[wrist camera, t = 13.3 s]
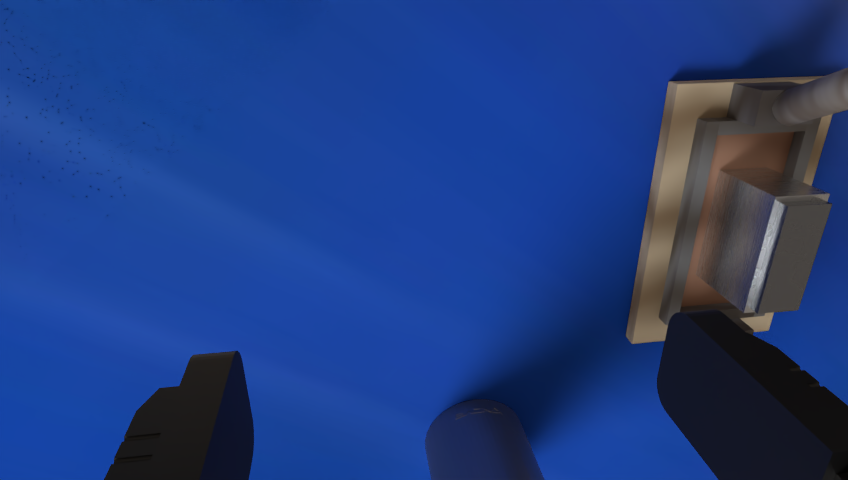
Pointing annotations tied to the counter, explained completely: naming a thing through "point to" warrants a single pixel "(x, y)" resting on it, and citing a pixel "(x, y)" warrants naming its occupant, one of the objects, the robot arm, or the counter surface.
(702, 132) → the stand
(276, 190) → the counter surface
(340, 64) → the counter surface
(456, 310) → the counter surface
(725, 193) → the block
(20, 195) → the counter surface
